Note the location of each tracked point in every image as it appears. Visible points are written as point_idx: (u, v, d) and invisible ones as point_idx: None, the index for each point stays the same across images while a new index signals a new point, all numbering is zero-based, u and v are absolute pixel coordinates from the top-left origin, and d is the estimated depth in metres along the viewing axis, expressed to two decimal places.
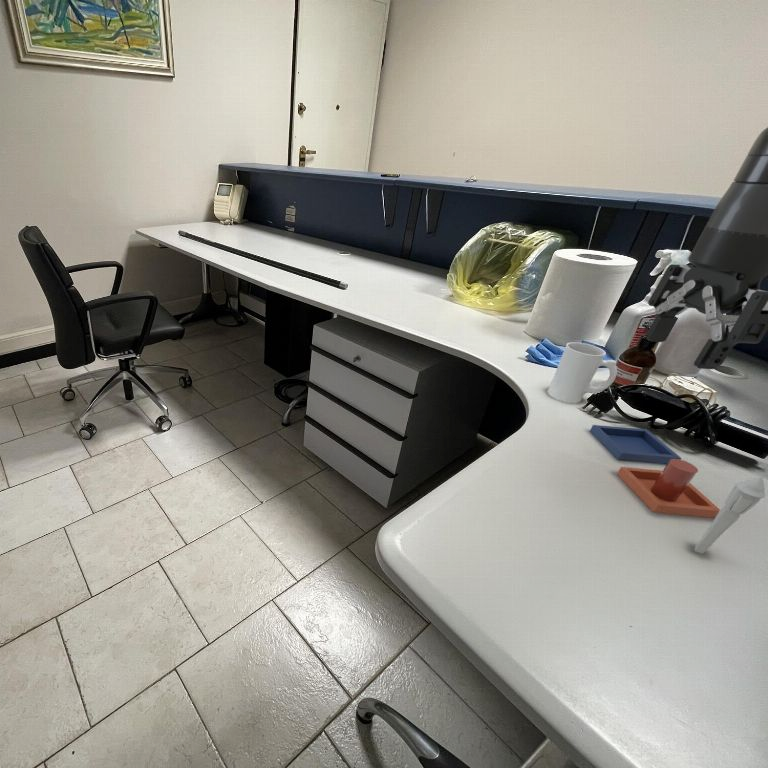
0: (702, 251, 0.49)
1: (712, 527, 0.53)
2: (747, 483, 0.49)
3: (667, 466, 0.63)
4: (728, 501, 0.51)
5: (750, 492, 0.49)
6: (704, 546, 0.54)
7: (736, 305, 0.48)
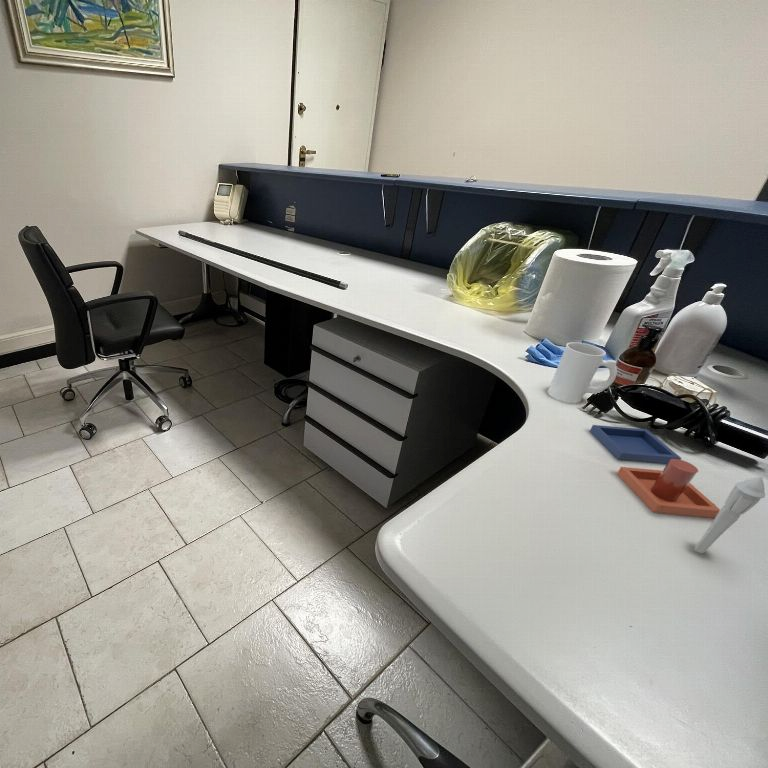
0: None
1: (712, 527, 0.53)
2: (747, 483, 0.49)
3: (667, 466, 0.63)
4: (728, 501, 0.51)
5: (750, 492, 0.49)
6: (704, 546, 0.54)
7: None
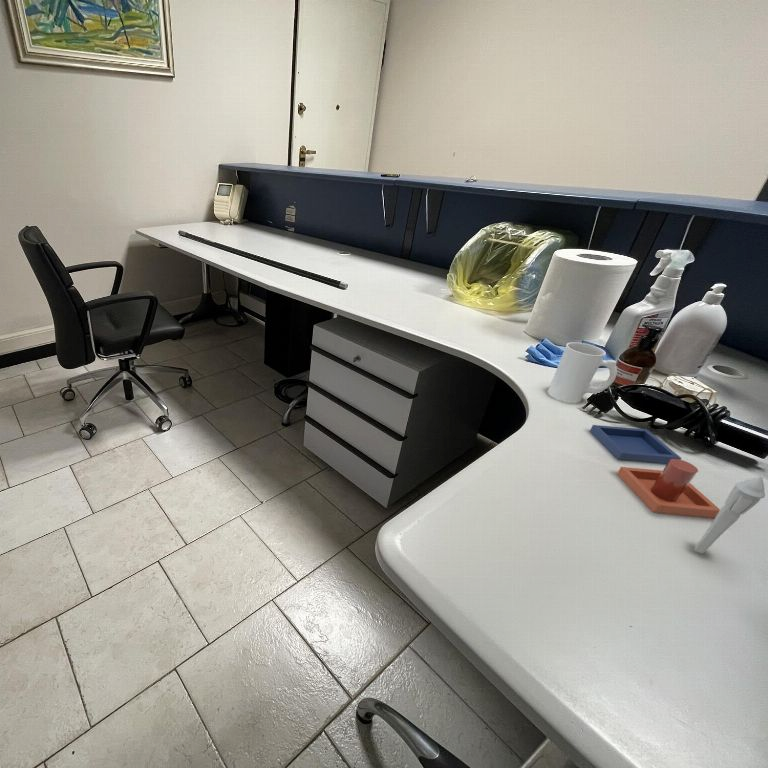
0: None
1: (712, 527, 0.53)
2: (747, 483, 0.49)
3: (667, 466, 0.63)
4: (728, 501, 0.51)
5: (750, 492, 0.49)
6: (704, 546, 0.54)
7: None
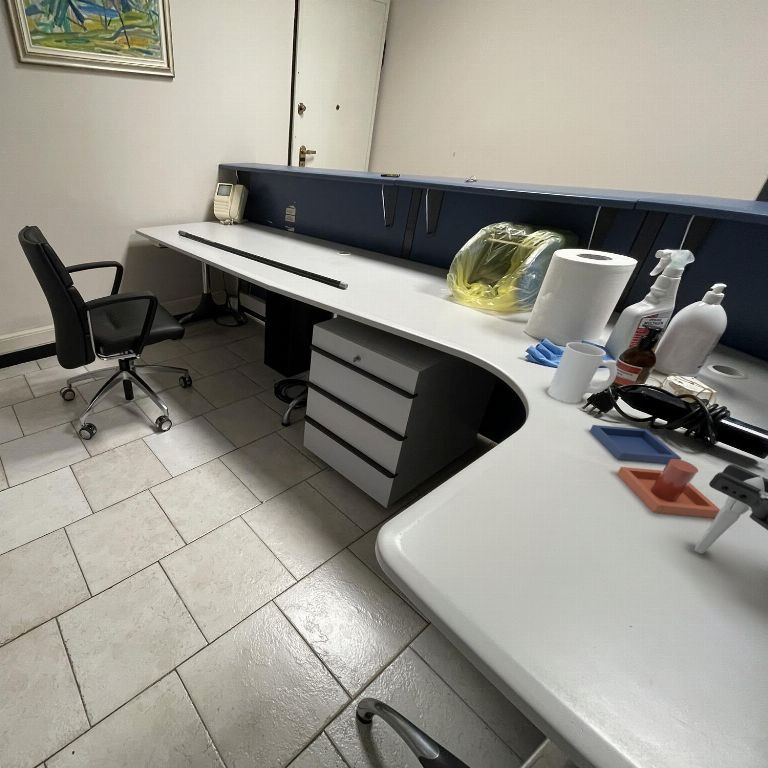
0: None
1: (712, 527, 0.53)
2: None
3: (667, 466, 0.63)
4: (728, 501, 0.51)
5: None
6: (704, 546, 0.54)
7: None
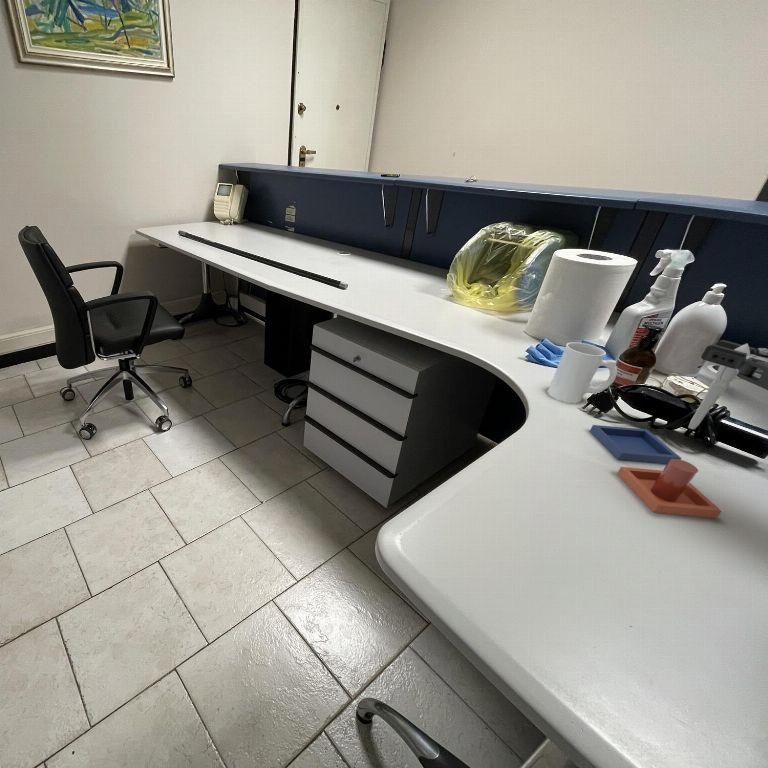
0: None
1: (705, 399, 0.59)
2: None
3: (667, 466, 0.63)
4: (718, 371, 0.57)
5: None
6: (698, 419, 0.60)
7: None
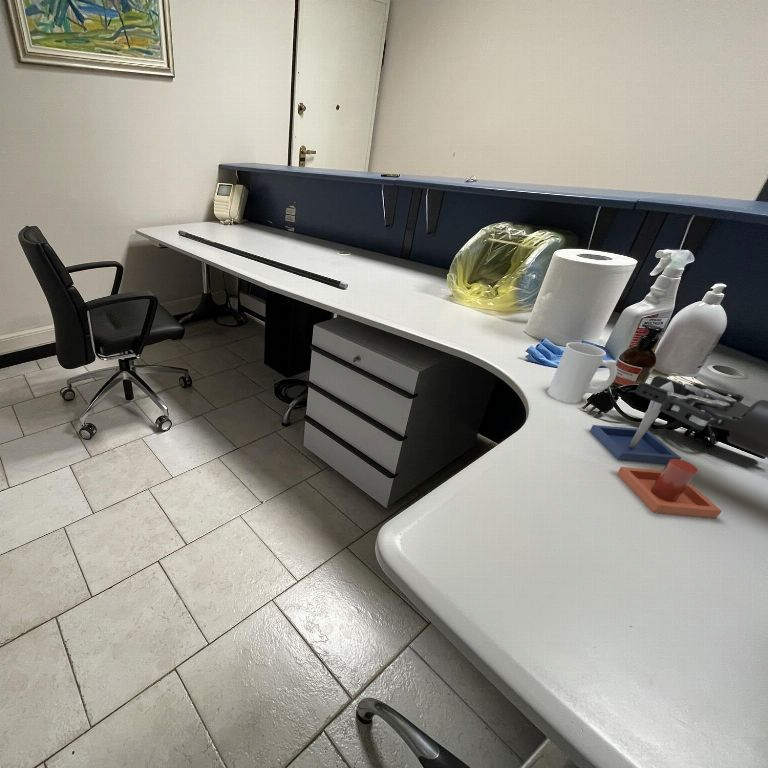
0: None
1: (640, 424, 0.72)
2: (662, 387, 0.69)
3: (667, 466, 0.63)
4: (650, 402, 0.70)
5: None
6: (636, 440, 0.74)
7: None
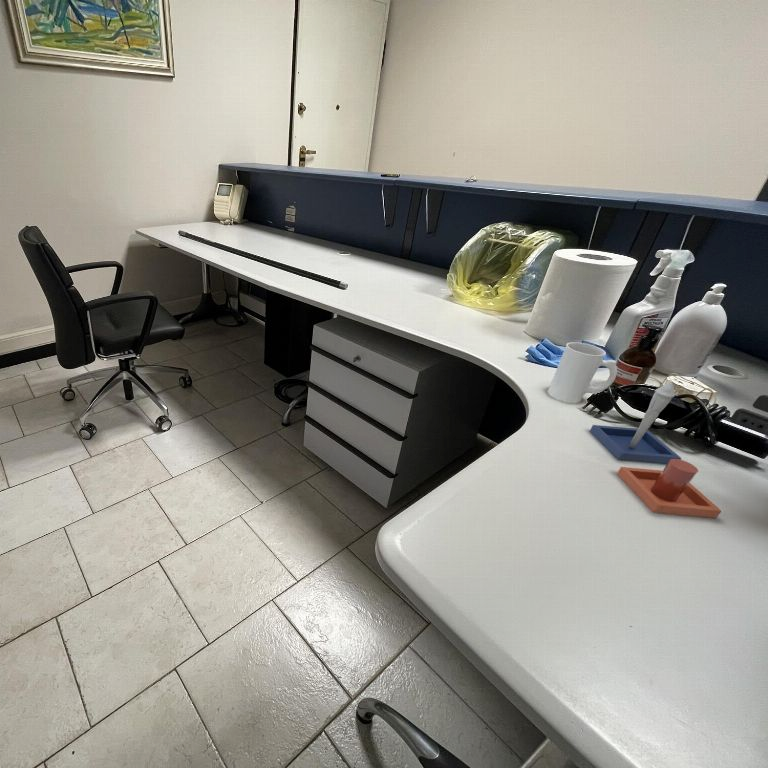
0: None
1: (640, 424, 0.72)
2: (662, 387, 0.69)
3: (667, 466, 0.63)
4: (650, 402, 0.70)
5: (664, 393, 0.68)
6: (636, 440, 0.74)
7: None
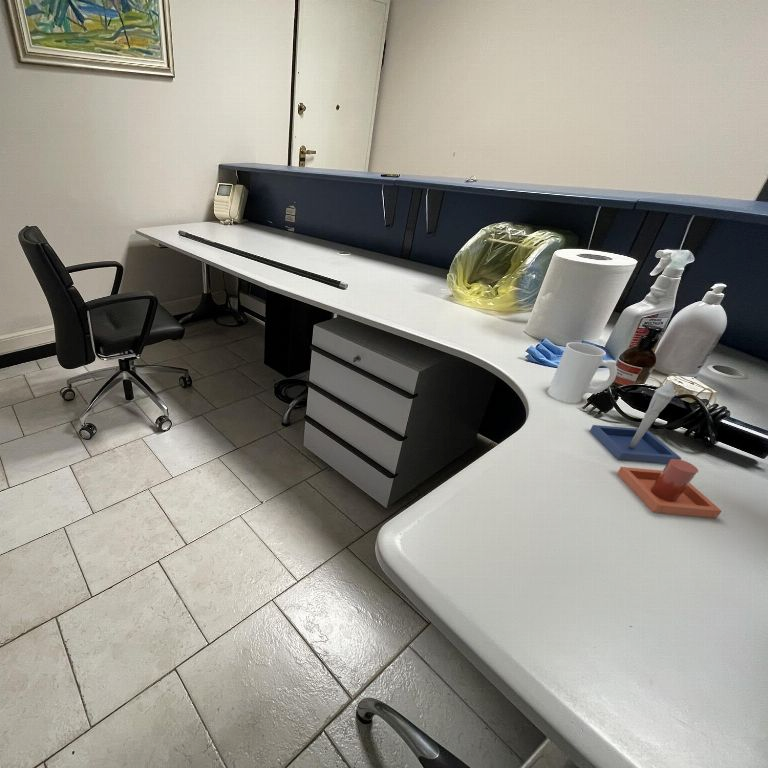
0: None
1: (640, 424, 0.72)
2: (662, 387, 0.69)
3: (667, 466, 0.63)
4: (650, 402, 0.70)
5: (664, 393, 0.68)
6: (636, 440, 0.74)
7: None
